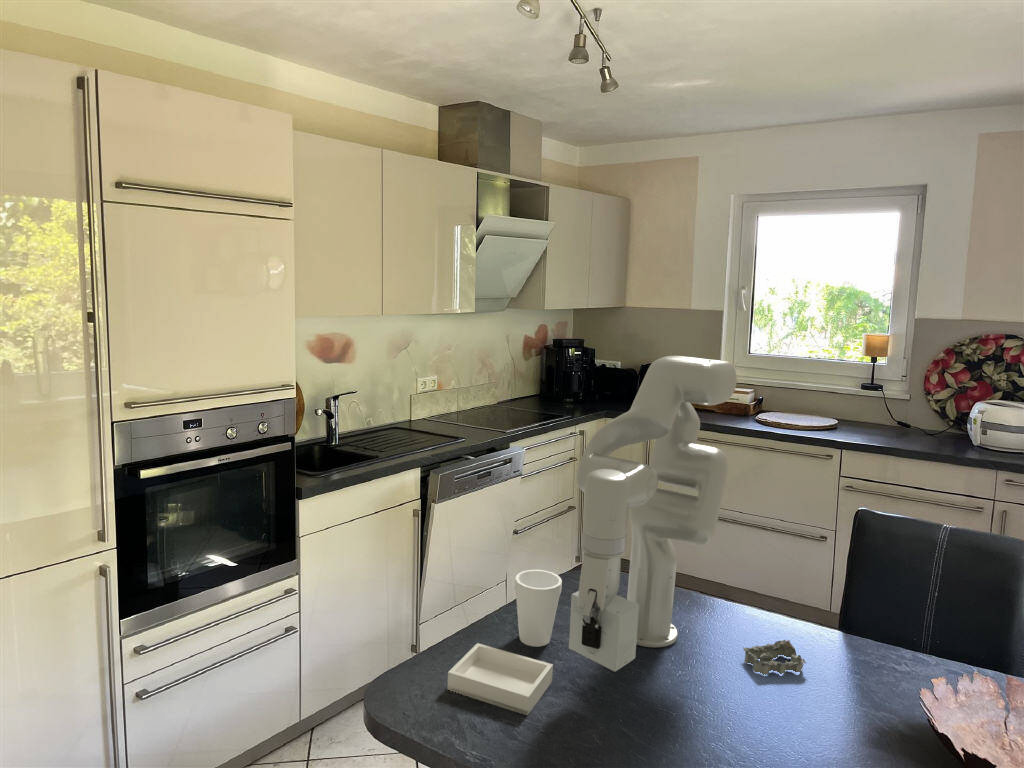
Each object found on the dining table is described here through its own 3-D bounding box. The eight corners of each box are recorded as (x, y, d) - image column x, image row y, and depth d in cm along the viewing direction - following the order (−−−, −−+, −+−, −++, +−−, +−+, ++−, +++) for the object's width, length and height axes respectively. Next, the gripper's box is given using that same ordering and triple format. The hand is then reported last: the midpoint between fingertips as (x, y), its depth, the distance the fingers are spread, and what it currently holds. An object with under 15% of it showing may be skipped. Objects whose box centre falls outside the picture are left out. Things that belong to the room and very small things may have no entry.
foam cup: (553, 653, 146) (557, 592, 144) (508, 646, 148) (511, 585, 146) (560, 631, 155) (564, 573, 153) (517, 624, 157) (520, 567, 155)
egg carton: (789, 657, 150) (791, 639, 150) (807, 678, 143) (810, 658, 142) (739, 657, 149) (741, 638, 148) (755, 678, 142) (758, 658, 141)
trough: (476, 659, 142) (477, 643, 142) (551, 682, 136) (553, 664, 136) (447, 690, 132) (448, 672, 131) (527, 715, 126) (528, 696, 125)
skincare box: (637, 657, 129) (640, 603, 127) (615, 673, 124) (618, 616, 122) (589, 634, 136) (592, 582, 134) (567, 648, 131) (569, 594, 129)
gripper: (598, 520, 136) (593, 607, 140) (566, 556, 120) (561, 653, 124) (638, 528, 133) (631, 617, 137) (610, 565, 117) (604, 665, 121)
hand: (598, 634), depth 130 cm, fingers closed on skincare box, 7 cm apart
